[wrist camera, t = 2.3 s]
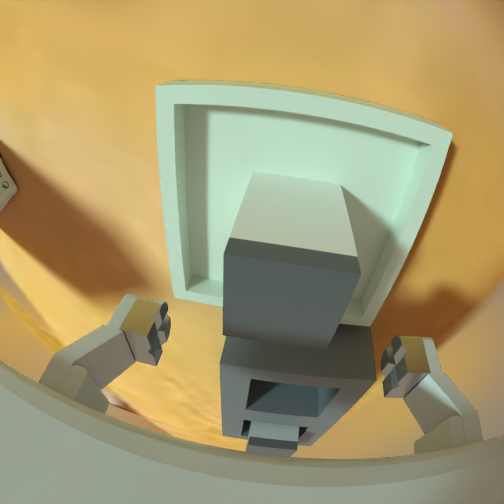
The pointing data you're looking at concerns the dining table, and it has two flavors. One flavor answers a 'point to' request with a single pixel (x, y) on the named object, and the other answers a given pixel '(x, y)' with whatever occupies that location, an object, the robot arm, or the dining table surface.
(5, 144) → the dining table surface
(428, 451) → the robot arm
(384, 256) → the tray
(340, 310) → the plug
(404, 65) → the dining table surface
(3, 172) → the skincare box
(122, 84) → the dining table surface
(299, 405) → the grey socket block
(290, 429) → the twin plug
